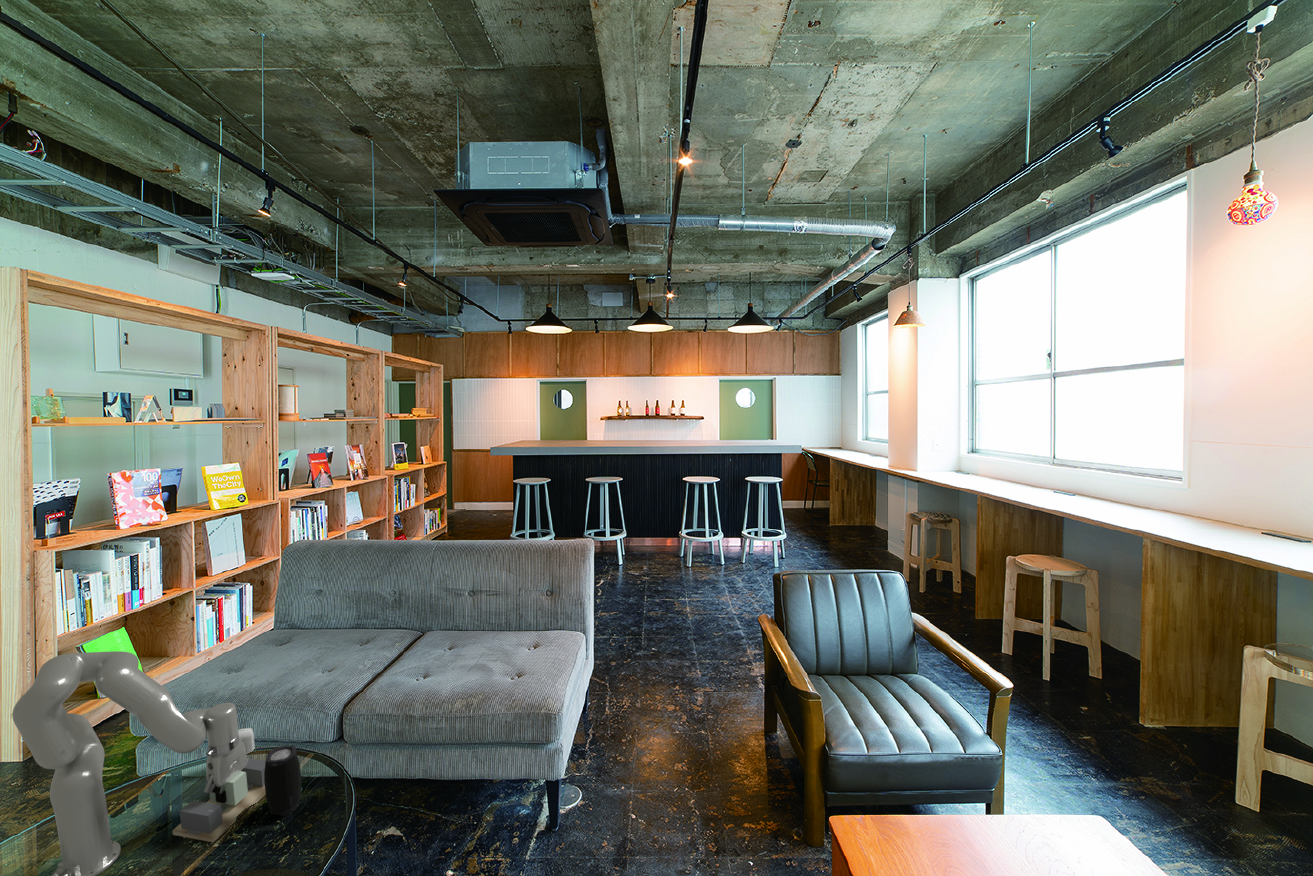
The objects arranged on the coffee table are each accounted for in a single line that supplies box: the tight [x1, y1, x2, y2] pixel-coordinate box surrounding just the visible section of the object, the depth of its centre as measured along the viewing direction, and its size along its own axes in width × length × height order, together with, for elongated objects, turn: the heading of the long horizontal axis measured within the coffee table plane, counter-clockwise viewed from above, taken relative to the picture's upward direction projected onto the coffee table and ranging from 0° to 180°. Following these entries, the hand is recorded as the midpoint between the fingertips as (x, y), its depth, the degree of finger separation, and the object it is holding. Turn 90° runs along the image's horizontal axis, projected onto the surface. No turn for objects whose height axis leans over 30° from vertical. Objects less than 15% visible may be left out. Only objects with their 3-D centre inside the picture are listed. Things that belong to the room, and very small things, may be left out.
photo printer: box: [238, 727, 256, 754], centre depth 189 cm, size 10×4×12 cm, turn 123°
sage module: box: [209, 771, 248, 806], centre depth 171 cm, size 4×9×8 cm, turn 81°
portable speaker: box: [264, 744, 302, 817], centre depth 171 cm, size 9×9×20 cm
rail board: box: [172, 758, 266, 843], centre depth 172 cm, size 24×14×8 cm, turn 171°
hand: (229, 794), depth 171 cm, fingers closed on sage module, 4 cm apart
